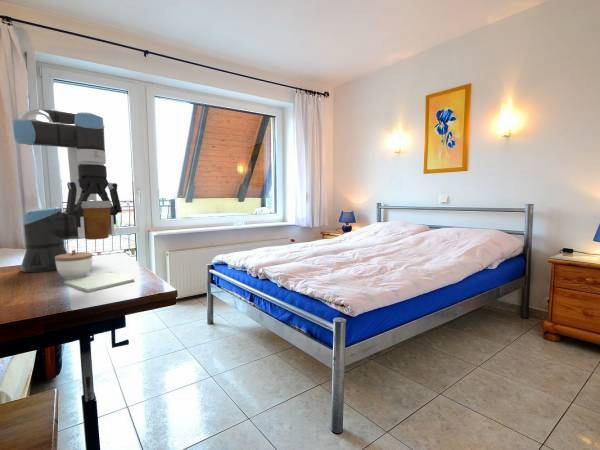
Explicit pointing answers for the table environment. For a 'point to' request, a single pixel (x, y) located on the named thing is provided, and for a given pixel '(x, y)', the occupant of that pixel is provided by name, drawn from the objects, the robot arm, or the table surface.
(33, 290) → the table surface
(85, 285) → the sage board
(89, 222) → the disposable coffee cup
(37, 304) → the table surface
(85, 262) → the lidded jar
